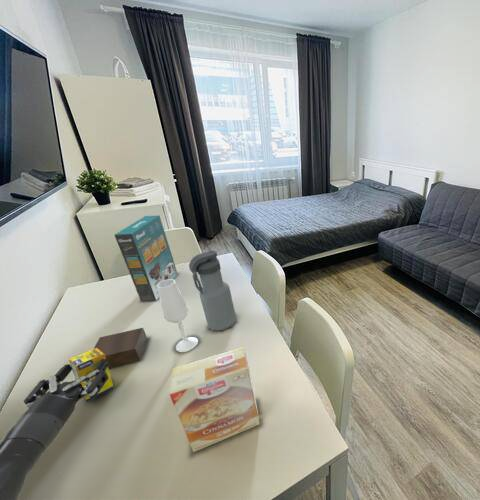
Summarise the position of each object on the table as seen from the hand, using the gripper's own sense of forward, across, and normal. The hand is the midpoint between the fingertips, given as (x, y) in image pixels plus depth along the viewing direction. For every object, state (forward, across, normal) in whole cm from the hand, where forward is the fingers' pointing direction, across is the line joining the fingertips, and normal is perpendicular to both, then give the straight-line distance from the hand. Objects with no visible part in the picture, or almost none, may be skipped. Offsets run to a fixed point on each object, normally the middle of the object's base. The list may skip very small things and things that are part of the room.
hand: (87, 363), depth 71 cm
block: (+12, 0, +10) cm, 16 cm away
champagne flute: (+13, -19, +10) cm, 25 cm away
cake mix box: (+53, +4, +10) cm, 55 cm away
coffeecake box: (-18, -36, +10) cm, 42 cm away
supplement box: (-2, 0, +9) cm, 9 cm away
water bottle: (+21, -28, +10) cm, 37 cm away
